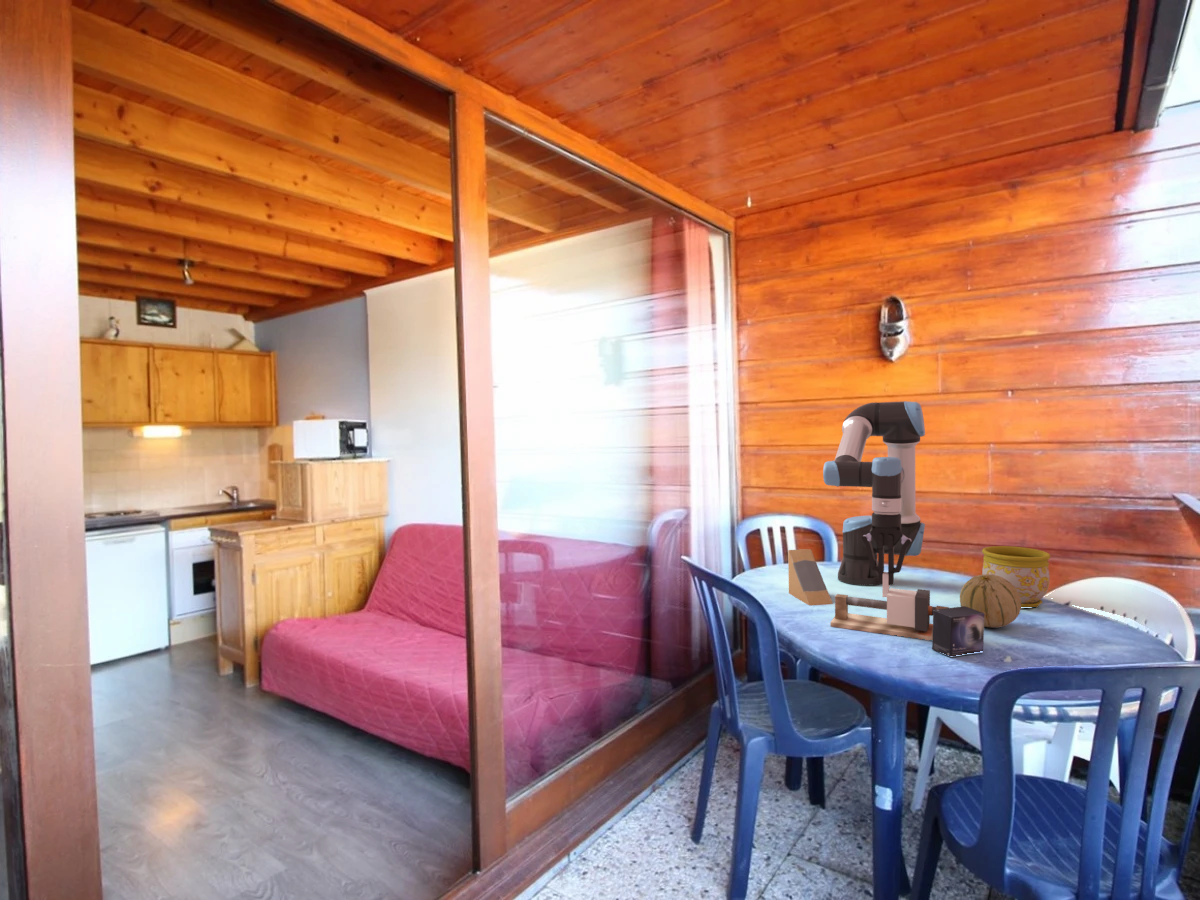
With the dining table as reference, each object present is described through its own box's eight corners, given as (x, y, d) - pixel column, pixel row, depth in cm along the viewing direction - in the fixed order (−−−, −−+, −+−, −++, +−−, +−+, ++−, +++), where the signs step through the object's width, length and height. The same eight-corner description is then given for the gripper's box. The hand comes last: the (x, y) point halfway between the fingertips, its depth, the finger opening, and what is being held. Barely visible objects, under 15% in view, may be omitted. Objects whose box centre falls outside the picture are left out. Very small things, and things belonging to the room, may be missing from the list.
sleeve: (886, 623, 178) (886, 595, 178) (890, 615, 185) (890, 588, 184) (914, 627, 174) (915, 598, 174) (917, 619, 181) (917, 591, 181)
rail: (830, 626, 184) (830, 599, 184) (837, 615, 194) (837, 590, 193) (949, 643, 169) (950, 614, 169) (951, 631, 178) (951, 603, 178)
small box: (951, 658, 159) (951, 616, 158) (930, 649, 165) (931, 609, 164) (985, 653, 162) (985, 612, 161) (963, 645, 168) (964, 605, 167)
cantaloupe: (1019, 622, 184) (1020, 570, 184) (1022, 638, 172) (1022, 582, 171) (960, 615, 192) (960, 565, 191) (958, 629, 179) (959, 576, 179)
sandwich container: (809, 606, 204) (808, 559, 204) (787, 593, 220) (787, 549, 219) (834, 604, 206) (834, 558, 205) (811, 592, 221) (811, 548, 220)
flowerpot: (1038, 615, 191) (1039, 560, 190) (972, 602, 204) (972, 551, 204) (1057, 603, 202) (1058, 551, 201) (994, 592, 216) (994, 543, 215)
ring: (914, 629, 174) (915, 597, 174) (917, 620, 182) (917, 589, 181) (927, 631, 172) (927, 598, 172) (929, 622, 180) (929, 590, 180)
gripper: (859, 512, 180) (859, 596, 181) (910, 515, 174) (910, 602, 175) (863, 509, 187) (863, 589, 188) (913, 512, 180) (912, 595, 181)
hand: (885, 595), depth 181 cm, fingers closed
